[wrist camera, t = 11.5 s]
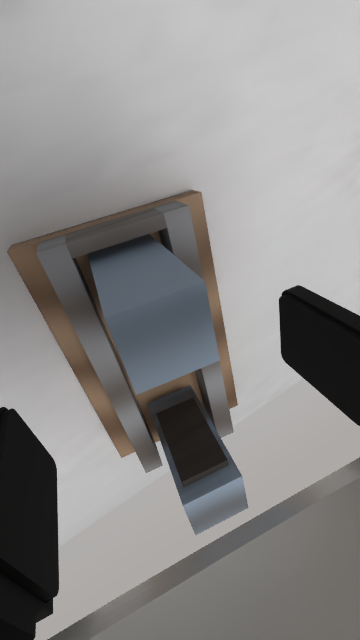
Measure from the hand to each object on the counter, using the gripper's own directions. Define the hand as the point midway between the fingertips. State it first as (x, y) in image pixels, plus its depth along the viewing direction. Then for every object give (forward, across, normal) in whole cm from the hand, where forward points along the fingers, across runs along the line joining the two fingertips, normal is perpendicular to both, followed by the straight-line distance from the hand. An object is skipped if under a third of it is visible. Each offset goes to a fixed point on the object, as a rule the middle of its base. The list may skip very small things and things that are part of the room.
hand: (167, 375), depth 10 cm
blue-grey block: (+11, -1, 0) cm, 11 cm away
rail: (+12, -1, +7) cm, 14 cm away
